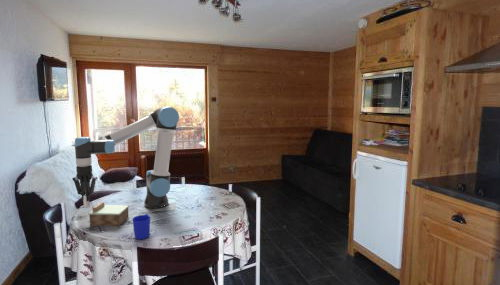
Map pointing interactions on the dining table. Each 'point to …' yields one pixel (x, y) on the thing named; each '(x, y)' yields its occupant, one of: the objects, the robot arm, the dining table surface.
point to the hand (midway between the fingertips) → (86, 206)
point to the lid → (108, 209)
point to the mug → (141, 226)
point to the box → (109, 219)
